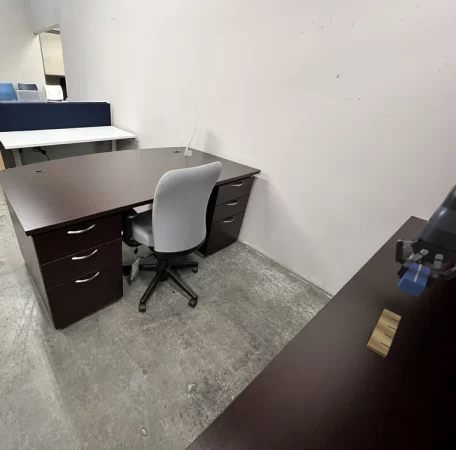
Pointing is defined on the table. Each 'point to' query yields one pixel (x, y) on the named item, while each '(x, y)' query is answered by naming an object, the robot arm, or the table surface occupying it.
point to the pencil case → (414, 279)
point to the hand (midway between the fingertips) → (411, 281)
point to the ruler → (384, 333)
